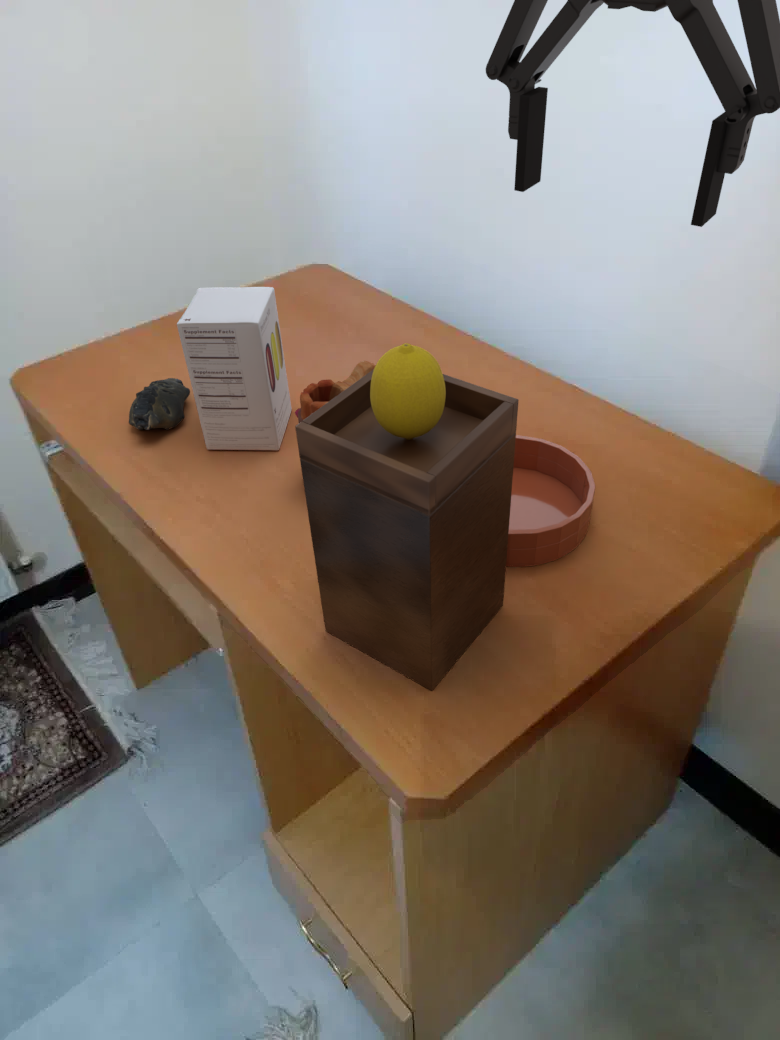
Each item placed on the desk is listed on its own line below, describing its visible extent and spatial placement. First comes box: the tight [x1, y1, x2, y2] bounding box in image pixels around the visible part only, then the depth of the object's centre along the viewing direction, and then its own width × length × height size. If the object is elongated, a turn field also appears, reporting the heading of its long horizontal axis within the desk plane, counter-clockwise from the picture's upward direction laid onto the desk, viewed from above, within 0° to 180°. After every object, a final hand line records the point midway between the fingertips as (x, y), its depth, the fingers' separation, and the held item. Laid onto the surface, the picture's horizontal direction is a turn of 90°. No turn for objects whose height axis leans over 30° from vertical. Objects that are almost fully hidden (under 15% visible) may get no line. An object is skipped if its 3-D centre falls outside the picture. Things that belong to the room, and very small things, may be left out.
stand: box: [299, 431, 517, 692], centre depth 67 cm, size 12×12×20 cm
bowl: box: [506, 434, 596, 568], centre depth 83 cm, size 16×16×4 cm
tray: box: [294, 369, 520, 515], centre depth 60 cm, size 12×12×3 cm
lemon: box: [370, 342, 446, 440], centre depth 58 cm, size 6×6×8 cm
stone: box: [128, 377, 191, 431], centre depth 100 cm, size 7×13×5 cm, turn 177°
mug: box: [294, 360, 376, 424], centre depth 87 cm, size 12×7×13 cm, turn 133°
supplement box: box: [176, 286, 293, 451], centre depth 93 cm, size 10×9×17 cm
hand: (610, 202), depth 57 cm, fingers open, 13 cm apart
